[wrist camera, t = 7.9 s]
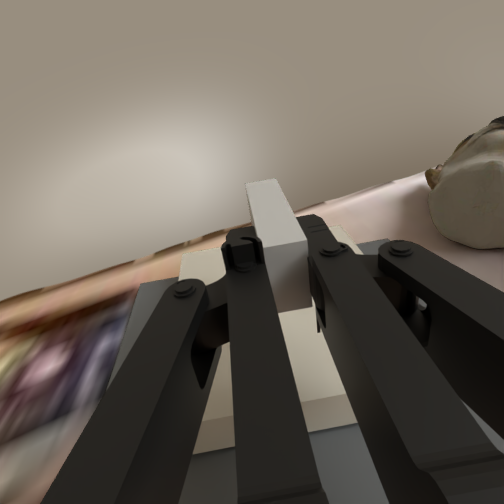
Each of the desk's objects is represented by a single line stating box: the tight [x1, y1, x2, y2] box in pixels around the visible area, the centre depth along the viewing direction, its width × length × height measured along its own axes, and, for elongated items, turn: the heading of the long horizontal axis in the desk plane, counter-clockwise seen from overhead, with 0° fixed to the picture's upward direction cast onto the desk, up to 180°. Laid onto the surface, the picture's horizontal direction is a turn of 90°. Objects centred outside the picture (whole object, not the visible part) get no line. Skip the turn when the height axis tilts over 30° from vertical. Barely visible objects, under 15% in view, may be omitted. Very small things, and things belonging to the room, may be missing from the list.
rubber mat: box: [106, 239, 504, 504], centre depth 20 cm, size 20×18×1 cm
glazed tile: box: [178, 225, 364, 454], centre depth 20 cm, size 12×2×14 cm
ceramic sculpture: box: [425, 116, 504, 249], centre depth 27 cm, size 11×9×15 cm
